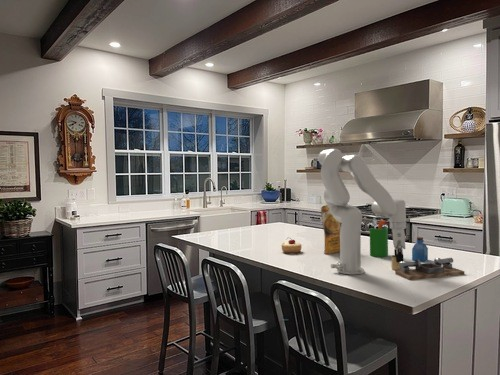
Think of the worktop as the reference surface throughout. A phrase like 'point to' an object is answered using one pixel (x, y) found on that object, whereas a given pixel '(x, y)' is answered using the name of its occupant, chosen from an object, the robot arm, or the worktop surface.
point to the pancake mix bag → (330, 231)
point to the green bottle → (379, 240)
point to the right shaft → (444, 262)
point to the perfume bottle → (420, 250)
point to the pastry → (291, 247)
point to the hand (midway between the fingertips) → (399, 259)
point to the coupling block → (394, 263)
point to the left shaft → (409, 265)
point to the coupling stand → (429, 272)
